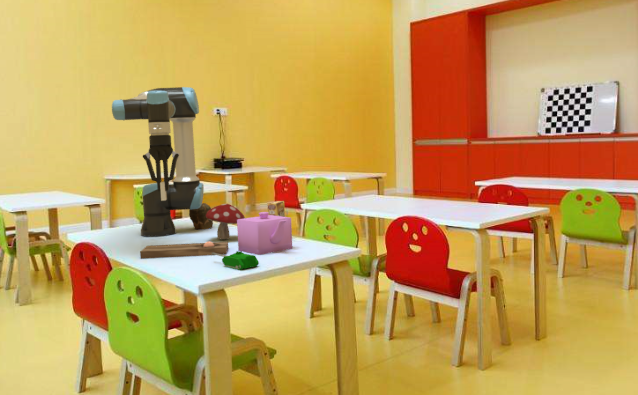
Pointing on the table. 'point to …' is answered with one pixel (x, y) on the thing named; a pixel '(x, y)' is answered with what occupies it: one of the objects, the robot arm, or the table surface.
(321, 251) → the table surface
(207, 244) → the coral ball
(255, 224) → the teapot
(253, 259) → the toy tank
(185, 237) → the table surface
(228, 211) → the decorative mushroom
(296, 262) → the table surface
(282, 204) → the candy box
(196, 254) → the walnut board
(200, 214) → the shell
